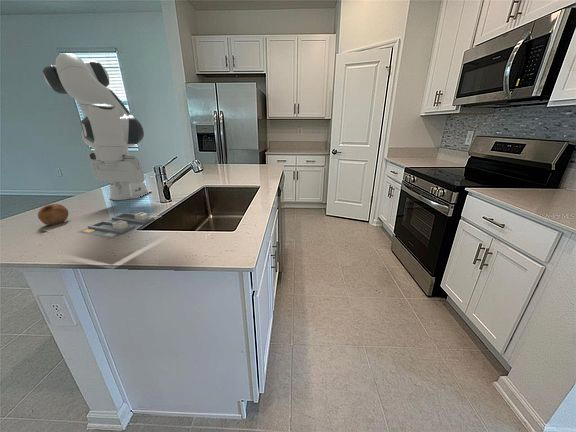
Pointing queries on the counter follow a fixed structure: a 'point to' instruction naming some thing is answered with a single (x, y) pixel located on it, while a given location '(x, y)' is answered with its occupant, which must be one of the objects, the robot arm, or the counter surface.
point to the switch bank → (107, 229)
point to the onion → (53, 214)
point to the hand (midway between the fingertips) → (123, 193)
